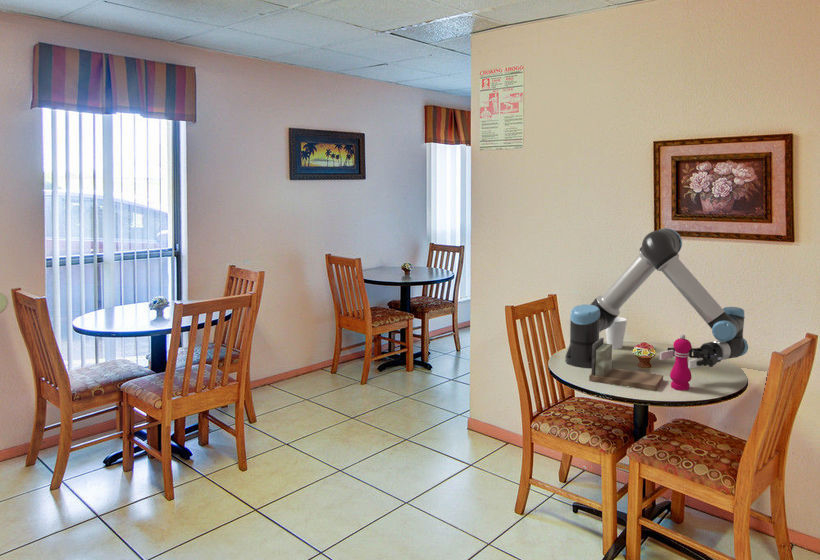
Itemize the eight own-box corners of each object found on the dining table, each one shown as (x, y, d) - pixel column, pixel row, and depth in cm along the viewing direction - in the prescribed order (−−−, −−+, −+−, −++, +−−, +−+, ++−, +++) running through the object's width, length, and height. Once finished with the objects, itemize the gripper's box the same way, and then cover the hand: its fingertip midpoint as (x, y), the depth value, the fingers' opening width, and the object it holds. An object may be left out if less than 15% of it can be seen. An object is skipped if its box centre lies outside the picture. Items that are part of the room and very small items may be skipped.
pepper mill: (665, 385, 236) (668, 332, 232) (684, 384, 236) (687, 331, 233) (675, 391, 228) (678, 337, 225) (694, 390, 229) (697, 336, 226)
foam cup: (608, 343, 295) (608, 315, 293) (628, 346, 289) (629, 318, 287) (601, 348, 287) (602, 319, 285) (621, 350, 282) (622, 322, 280)
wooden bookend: (589, 380, 242) (590, 345, 240) (599, 371, 254) (600, 336, 251) (655, 391, 229) (657, 353, 227) (663, 380, 241) (664, 344, 239)
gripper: (743, 369, 229) (703, 379, 219) (686, 353, 250) (647, 362, 240) (744, 349, 228) (704, 358, 218) (687, 335, 249) (648, 342, 239)
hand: (674, 360), depth 229 cm, fingers open, 12 cm apart
